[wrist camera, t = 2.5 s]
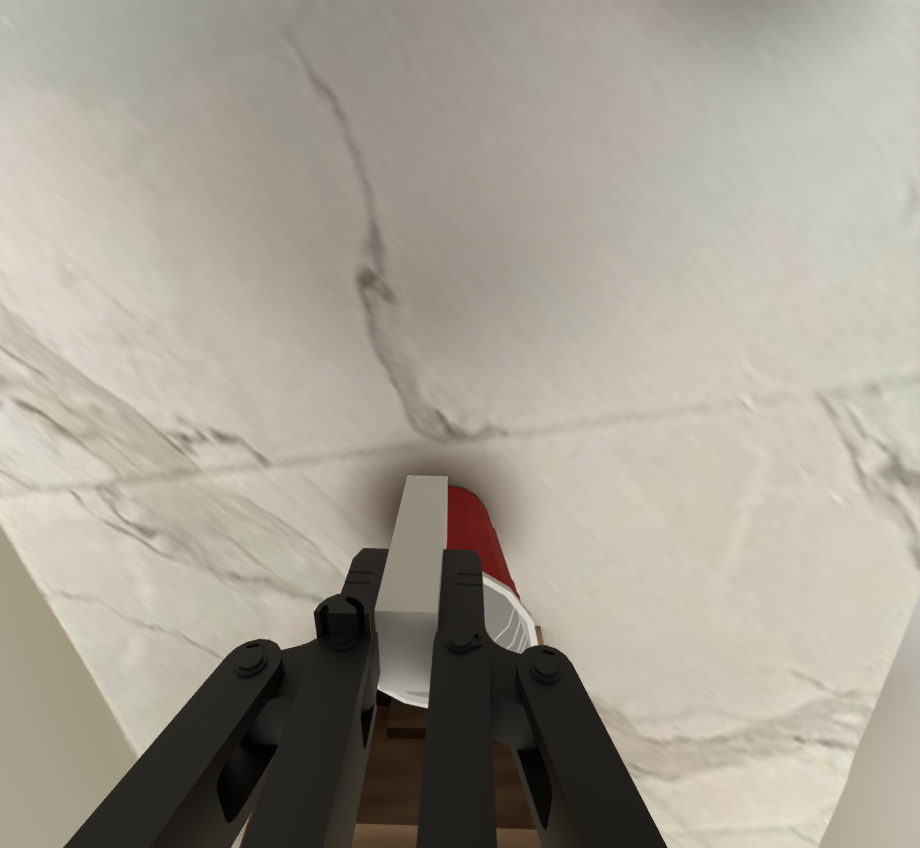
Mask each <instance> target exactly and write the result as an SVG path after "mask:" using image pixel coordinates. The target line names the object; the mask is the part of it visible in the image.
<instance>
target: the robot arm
mask: <svg viewBox="0 0 920 848" xmlns="http://www.w3.org/2000/svg"><path fill="white" fill-rule="evenodd" d="M447 500H448V476H417V475H407V479H406V483H405V487H404V491H403V495H402V500H401V504H400V508H399V512H398V516H397V520H396V524H395V528H394V532H393V536H392V541H391V545H390V549H376V548H363V549H362V550H361V551H360V552H359V553H358V554H357V555H356V556H355V557H354V558H353V560H352V563H351V566H350V569H349V573H348V575H347V577H346V580H345V584H344V586H343V589H342V592H341V594H336V595H334V596H331V597H329V598H327V599H326V600H324V601H323V602H322V603H320V604H319V605H318V607H317V608H316V610H315V611H314V618H315V625H316V632H317V638H316V639H314V640H313V641H311V642H309V643H306V644H303V645H300V646H296V647H292V648H288V649H284V650H281V649H280V648H279V646H278V644H277V643H275V642H273V641H271V640H266V639H257V640H253V641H249V642H246V643H244V644H242V645H240V646H239V647H237V648H235V649H234V650H233V651H232V652H231V653H230V654H229V655H228V656H227V657H226V658H225V659H224V660H223V661H222V662H221V664H220V665H219V666H218V667H217V668H216V669H215V671H214V672H213V673H212V674H211V675H210V676H209V678H208V679H207V680H206V681H205V682H204V683H203V685H202V686H201V687H200V688H199V689H198V690H197V692H196V693H195V694H194V695H193V696H192V698H191V699H190V700H189V701H188V702H187V703H186V705H185V706H184V707H183V708H182V709H181V710H180V712H179V713H178V714H177V715H176V716H175V717H174V719H173V720H172V721H171V722H170V723H169V724H168V726H167V727H166V728H165V729H164V730H163V731H162V733H161V734H160V735H159V736H158V737H157V739H156V740H155V741H154V742H153V743H152V744H151V746H150V747H149V748H148V749H147V750H146V751H145V753H144V754H143V755H142V756H141V757H140V758H139V760H138V761H137V762H136V763H135V764H134V765H133V767H132V768H131V769H130V770H129V771H128V773H127V774H126V775H125V776H124V777H123V778H122V780H121V781H120V782H119V783H118V784H117V785H116V787H115V788H114V789H113V790H112V791H111V792H110V794H109V795H108V796H107V797H106V798H105V799H104V801H103V802H102V803H101V804H100V805H99V806H98V808H97V809H96V810H95V811H94V812H93V814H92V815H91V816H90V817H89V818H88V819H87V820H86V822H85V823H84V824H83V825H82V826H81V828H80V829H79V830H78V831H77V832H76V833H75V835H74V836H73V837H72V838H71V840H69V842H68V843H67V844H66V845H65V846H64V847H63V848H231V846H232V845H233V843H234V841H235V840H236V838H237V836H238V834H239V833H240V831H241V829H242V828H243V826H244V824H245V822H246V821H247V819H248V817H249V815H250V814H251V812H252V810H253V809H254V807H255V805H256V807H255V810H254V813H253V815H252V818H251V821H250V824H249V826H248V829H247V832H246V835H245V837H244V840H243V843H242V845H241V848H351V847H352V841H353V836H354V830H355V825H356V820H357V814H358V809H359V803H360V798H361V793H362V787H363V782H364V776H365V771H366V766H367V760H368V755H369V749H370V744H371V739H372V733H373V728H374V722H375V717H376V693H377V688H378V683H379V686H380V691H416V692H429V701H428V713H427V725H426V737H425V748H424V760H423V772H422V784H421V796H420V808H419V820H418V832H417V843H416V848H497V832H496V811H495V790H494V769H493V748H492V740H495V741H497V742H500V743H502V744H505V745H507V746H510V747H511V751H512V754H513V757H514V760H515V763H516V767H517V770H518V773H519V776H520V779H521V782H522V786H523V789H524V792H525V795H526V798H527V801H528V805H529V808H530V811H531V814H532V817H533V820H534V824H535V827H536V830H537V833H538V836H539V840H540V843H541V846H542V848H667V846H666V844H665V842H664V840H663V838H662V836H661V834H660V832H659V830H658V828H657V827H656V825H655V823H654V821H653V819H652V817H651V815H650V813H649V811H648V809H647V807H646V805H645V803H644V801H643V800H642V798H641V796H640V794H639V792H638V790H637V788H636V786H635V784H634V782H633V780H632V778H631V776H630V774H629V773H628V771H627V769H626V767H625V765H624V763H623V761H622V759H621V757H620V755H619V753H618V751H617V749H616V747H615V746H614V744H613V742H612V740H611V738H610V736H609V734H608V732H607V730H606V728H605V726H604V724H603V722H602V720H601V719H600V717H599V715H598V713H597V711H596V709H595V707H594V705H593V703H592V701H591V699H590V697H589V695H588V693H587V692H586V690H585V688H584V686H583V684H582V682H581V680H580V678H579V676H578V674H577V672H576V670H575V668H574V666H573V665H572V663H571V662H570V660H569V659H568V658H567V656H566V655H565V654H563V653H562V652H560V651H559V650H557V649H556V648H552V647H549V646H546V645H535V646H532V647H530V648H527V649H525V650H524V651H523V652H522V653H521V654H520V653H517V652H514V651H511V650H508V649H506V648H503V647H501V646H500V645H498V644H497V643H495V642H494V641H493V640H492V639H491V637H490V636H489V634H488V633H487V631H486V627H485V616H484V595H483V576H482V574H483V573H482V560H481V559H480V557H479V556H478V554H477V553H476V551H475V550H457V549H446V546H447ZM256 803H257V804H256Z"/></svg>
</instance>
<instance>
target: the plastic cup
mask: <svg viewBox="0 0 920 848" xmlns="http://www.w3.org/2000/svg"><path fill="white" fill-rule="evenodd" d="M446 549H457V550H475V551H476V553H477V554H478V556H479V557H480V559H481V560H482V573H483V574H482V576H483V595H484V616H485V627H486V631H487V633H488V634H489V636H490V637H491V639H492V640H493V641H494V642H495V643H497V644H498V645H500V646H501V647H503V648H506V649H508V650H511V651H514V652H517V653H520V654H521V653H522V652H523V651H524V650H525V649H527V648H530V647H532V646H535V645H538V642H537V636H536V631H535V626H534V621H533V618H532V616H531V614H530V613H529V611H528V610H527V609H526V608H525V606H524V605H523V604H522V602H521V601H520V597H519V595H518V593H517V592H516V588H515V584H514V582H513V580H512V579H511V577H510V574H509V571H508V568H507V565H506V562H505V559H504V556H503V553H502V550H501V547H500V544H499V541H498V538H497V535H496V532H495V529H494V528H493V527H492V524H491V521H490V518H489V515H488V512H487V510H486V508H485V507H484V505H483V504H482V503H481V501H480V500H479V499H478V498H477V496H476V495H474V494H472V493H471V492H469V491H467V490H465V489H464V488H458V487H453V486H448V500H447V546H446ZM377 689H378V690H380V686H379V683H378V688H377ZM382 692H384V693H386V694H388V695H390V696H392V697H394V698H396V699H397V700H399V701H401V702H403V703H406V704H411V705H415V706H420V707H424V708H428V701H429V692H416V691H382Z"/></svg>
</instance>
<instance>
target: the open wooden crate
mask: <svg viewBox="0 0 920 848" xmlns="http://www.w3.org/2000/svg"><path fill="white" fill-rule="evenodd" d="M535 631H536V636H537V642H538V645H544V644H543V638H542V633H541V627H535ZM427 713H428V708H424V707H420V706H415V705H411V704H406V703H403V702H401V701H399V700H397V699H396V698H394V697H392V698H391V704H390V706H378V705H376V717H375V722H374V728H373V733H372V739H371V744H370V749H369V755H368V760H367V766H366V771H365V776H364V782H363V787H362V793H361V798H360V803H359V809H358V814H357V820H356V825H355V830H354V836H353V841H352V847H351V848H416V843H417V832H418V820H419V808H420V796H421V784H422V772H423V760H424V748H425V737H426V725H427ZM492 748H493V769H494V790H495V811H496V832H497V848H542V846H541V843H540V840H539V836H538V833H537V830H536V827H535V824H534V820H533V817H532V814H531V811H530V808H529V805H528V801H527V798H526V795H525V792H524V789H523V786H522V782H521V779H520V776H519V773H518V770H517V767H516V763H515V760H514V757H513V754H512V751H511V747H510V746H507V745H505V744H502V743H500V742H497V741H495V740H492Z"/></svg>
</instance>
